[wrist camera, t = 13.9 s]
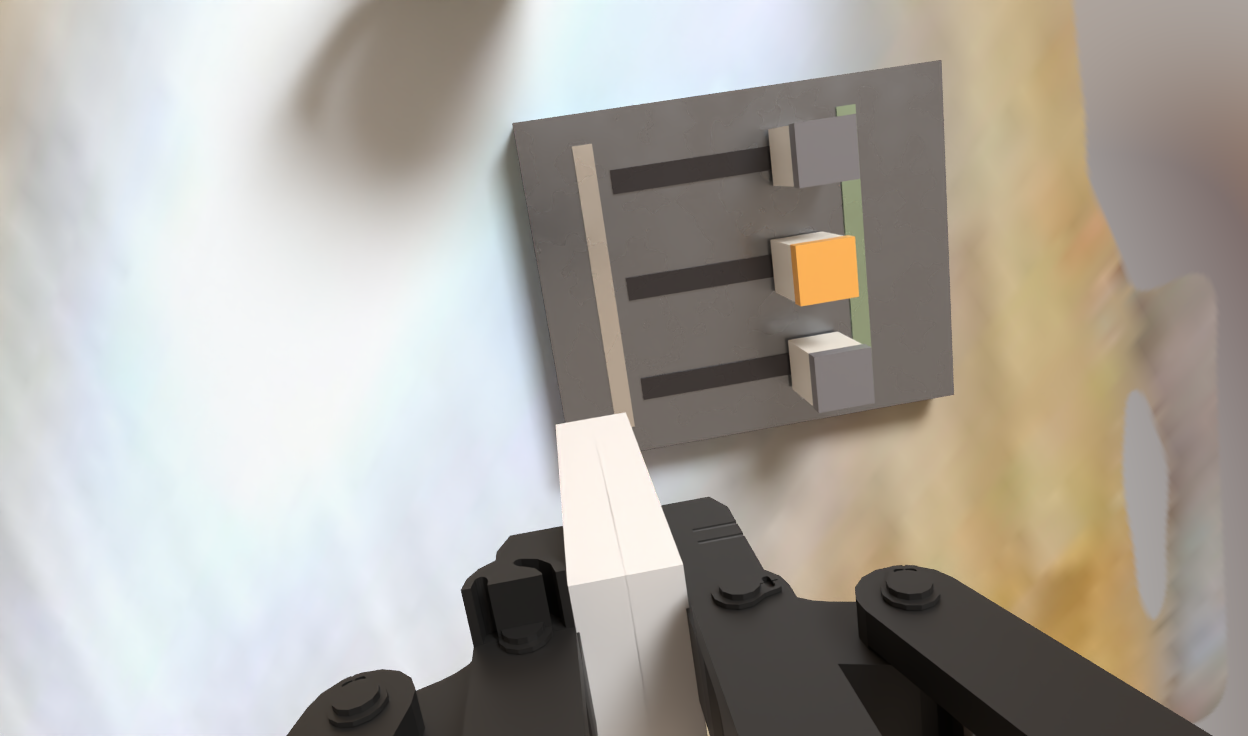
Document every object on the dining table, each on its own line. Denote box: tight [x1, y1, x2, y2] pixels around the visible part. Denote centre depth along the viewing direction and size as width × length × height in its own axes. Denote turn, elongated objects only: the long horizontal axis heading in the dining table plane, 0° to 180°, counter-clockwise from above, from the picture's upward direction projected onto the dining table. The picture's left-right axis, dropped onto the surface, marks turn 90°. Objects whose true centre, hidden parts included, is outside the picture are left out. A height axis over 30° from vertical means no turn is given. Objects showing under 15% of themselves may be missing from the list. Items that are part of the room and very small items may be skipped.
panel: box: [512, 60, 954, 451], centre depth 41 cm, size 22×18×2 cm
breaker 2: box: [788, 332, 875, 413], centre depth 40 cm, size 3×3×4 cm
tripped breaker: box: [770, 232, 859, 306], centre depth 38 cm, size 3×3×4 cm
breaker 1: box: [768, 114, 860, 188], centre depth 37 cm, size 3×3×4 cm
